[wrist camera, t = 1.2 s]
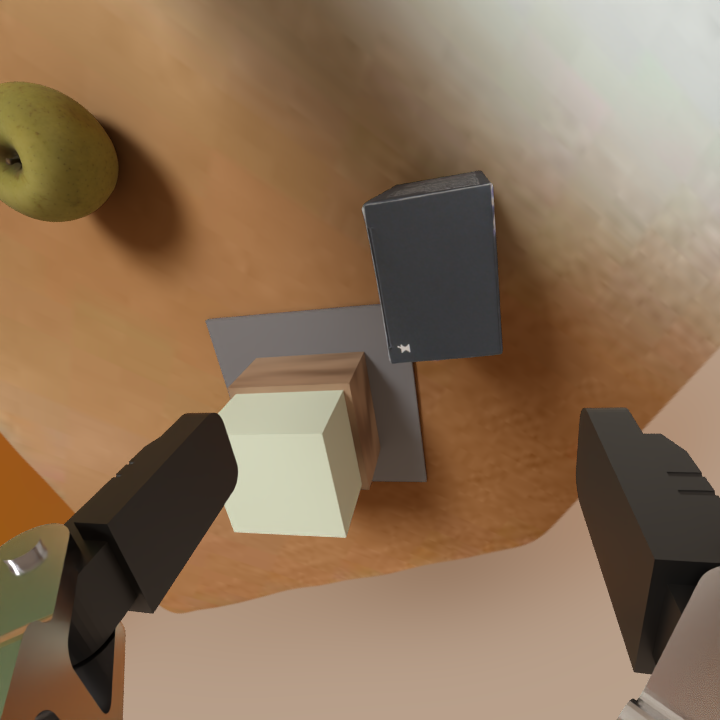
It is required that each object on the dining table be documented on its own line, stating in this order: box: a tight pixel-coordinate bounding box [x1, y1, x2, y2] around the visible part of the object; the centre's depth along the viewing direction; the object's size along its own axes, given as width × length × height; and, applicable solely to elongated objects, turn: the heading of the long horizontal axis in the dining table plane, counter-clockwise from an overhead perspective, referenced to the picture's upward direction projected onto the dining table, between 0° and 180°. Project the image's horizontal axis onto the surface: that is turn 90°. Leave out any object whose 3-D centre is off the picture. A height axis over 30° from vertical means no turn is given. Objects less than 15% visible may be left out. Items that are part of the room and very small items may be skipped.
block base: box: [227, 352, 381, 490], centre depth 34 cm, size 9×9×5 cm
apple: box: [0, 82, 118, 222], centre depth 28 cm, size 8×8×7 cm
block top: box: [218, 390, 362, 538], centre depth 30 cm, size 8×8×5 cm
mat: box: [206, 304, 427, 482], centre depth 37 cm, size 16×16×1 cm
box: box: [362, 171, 503, 364], centre depth 24 cm, size 8×6×11 cm
